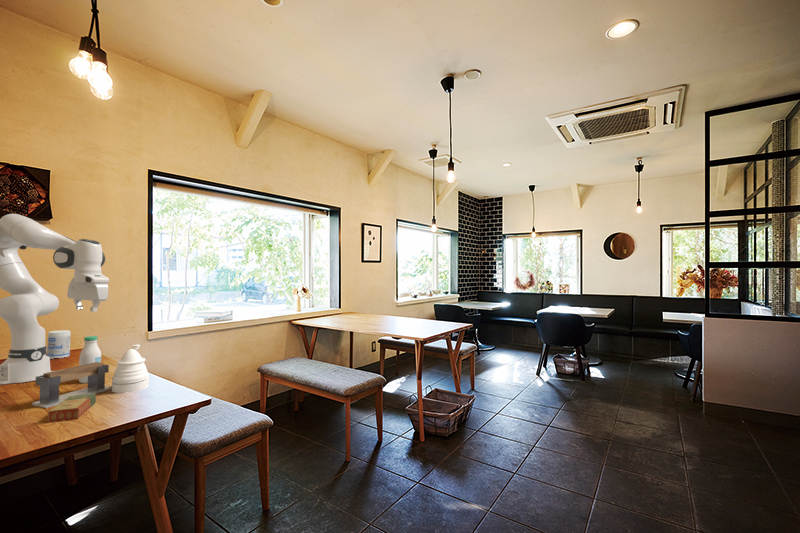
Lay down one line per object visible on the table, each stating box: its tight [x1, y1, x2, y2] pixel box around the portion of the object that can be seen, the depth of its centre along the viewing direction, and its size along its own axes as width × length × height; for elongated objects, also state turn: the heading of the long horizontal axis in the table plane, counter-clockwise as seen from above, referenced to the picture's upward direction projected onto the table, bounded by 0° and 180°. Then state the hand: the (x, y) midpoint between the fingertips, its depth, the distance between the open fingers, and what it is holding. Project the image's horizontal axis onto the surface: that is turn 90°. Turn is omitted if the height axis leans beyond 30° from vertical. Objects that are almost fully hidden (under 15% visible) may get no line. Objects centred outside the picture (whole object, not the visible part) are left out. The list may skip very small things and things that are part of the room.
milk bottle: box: [78, 335, 102, 384], centre depth 167 cm, size 8×8×20 cm
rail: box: [43, 362, 104, 383], centre depth 146 cm, size 4×18×4 cm, turn 161°
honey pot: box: [111, 344, 150, 394], centre depth 158 cm, size 13×13×18 cm
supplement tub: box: [46, 329, 72, 360], centre depth 208 cm, size 10×10×15 cm
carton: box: [47, 394, 97, 423], centre depth 131 cm, size 8×16×4 cm, turn 23°
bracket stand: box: [32, 363, 111, 409], centre depth 146 cm, size 8×22×10 cm, turn 161°
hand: (86, 310), depth 155 cm, fingers open, 8 cm apart
